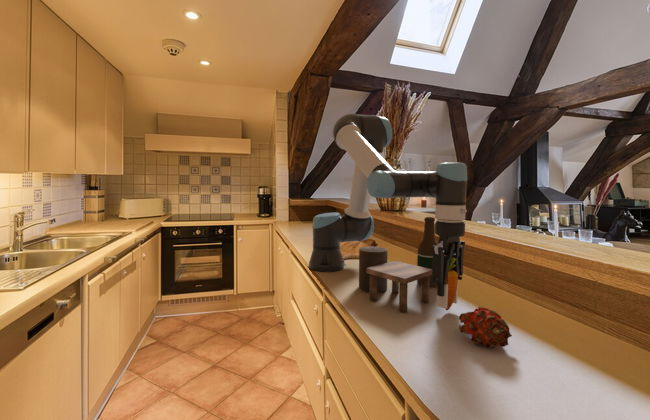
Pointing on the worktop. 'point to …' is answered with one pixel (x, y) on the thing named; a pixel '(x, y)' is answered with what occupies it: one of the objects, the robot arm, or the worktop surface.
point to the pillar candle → (369, 259)
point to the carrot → (451, 283)
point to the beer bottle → (427, 249)
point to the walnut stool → (400, 280)
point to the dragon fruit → (485, 327)
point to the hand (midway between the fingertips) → (447, 304)
